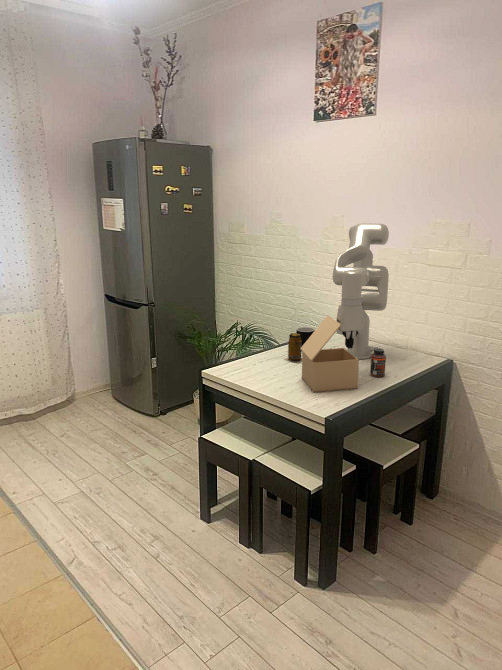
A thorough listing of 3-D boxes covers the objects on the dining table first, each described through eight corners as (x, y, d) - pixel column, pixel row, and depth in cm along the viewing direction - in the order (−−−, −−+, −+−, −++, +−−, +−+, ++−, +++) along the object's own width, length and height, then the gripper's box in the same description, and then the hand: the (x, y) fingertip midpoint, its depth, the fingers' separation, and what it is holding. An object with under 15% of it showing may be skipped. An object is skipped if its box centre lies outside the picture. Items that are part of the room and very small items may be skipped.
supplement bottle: (376, 378, 211) (378, 352, 208) (367, 374, 217) (368, 348, 214) (387, 376, 214) (389, 350, 211) (378, 371, 219) (379, 346, 216)
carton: (343, 375, 216) (344, 347, 213) (357, 388, 201) (358, 359, 197) (301, 378, 213) (302, 350, 209) (313, 392, 197) (313, 362, 194)
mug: (309, 353, 246) (309, 332, 243) (292, 350, 251) (293, 330, 248) (320, 346, 255) (321, 327, 253) (304, 344, 260) (304, 324, 257)
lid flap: (328, 315, 207) (327, 315, 207) (341, 324, 193) (340, 324, 193) (301, 349, 209) (300, 348, 208) (312, 360, 194) (311, 359, 194)
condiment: (295, 356, 241) (295, 331, 238) (307, 360, 235) (308, 335, 232) (283, 359, 237) (283, 334, 234) (296, 363, 231) (296, 338, 227)
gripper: (365, 299, 204) (363, 343, 209) (329, 301, 201) (328, 346, 206) (373, 303, 197) (370, 349, 202) (336, 305, 194) (334, 351, 199)
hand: (349, 347), depth 204 cm, fingers closed
